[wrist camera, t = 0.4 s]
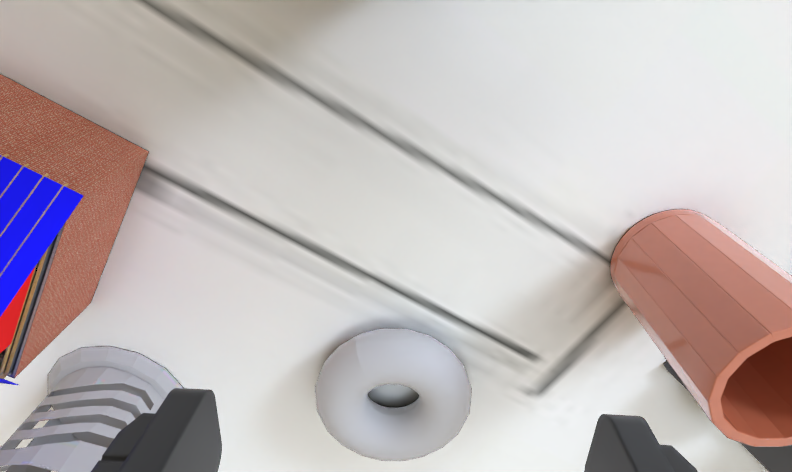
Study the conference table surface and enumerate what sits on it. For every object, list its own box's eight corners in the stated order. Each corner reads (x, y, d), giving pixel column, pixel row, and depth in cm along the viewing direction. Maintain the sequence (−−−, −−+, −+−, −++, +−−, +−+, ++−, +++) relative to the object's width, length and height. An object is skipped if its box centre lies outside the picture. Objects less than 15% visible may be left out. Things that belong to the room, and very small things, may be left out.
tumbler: (620, 208, 27) (736, 322, 18) (737, 208, 27) (916, 322, 18) (601, 305, 30) (691, 447, 21) (706, 304, 30) (846, 447, 20)
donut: (393, 450, 36) (500, 380, 33) (391, 493, 33) (509, 421, 30) (289, 374, 33) (395, 288, 30) (276, 414, 30) (393, 323, 27)
